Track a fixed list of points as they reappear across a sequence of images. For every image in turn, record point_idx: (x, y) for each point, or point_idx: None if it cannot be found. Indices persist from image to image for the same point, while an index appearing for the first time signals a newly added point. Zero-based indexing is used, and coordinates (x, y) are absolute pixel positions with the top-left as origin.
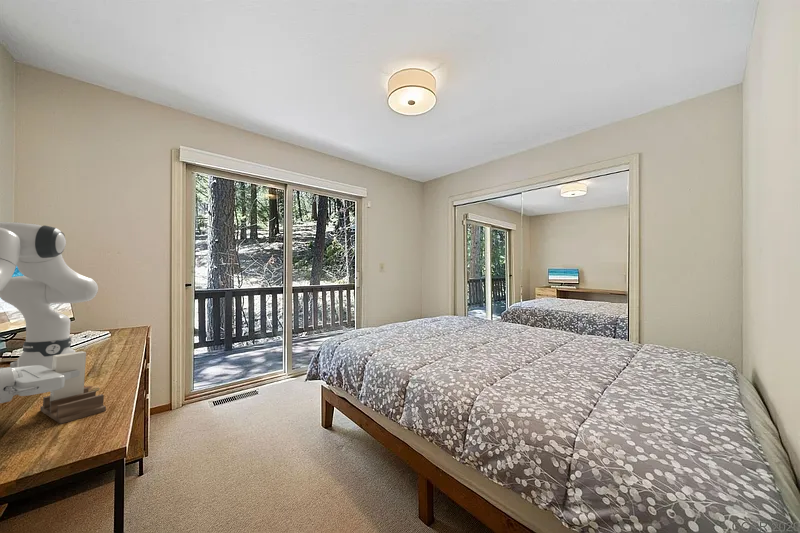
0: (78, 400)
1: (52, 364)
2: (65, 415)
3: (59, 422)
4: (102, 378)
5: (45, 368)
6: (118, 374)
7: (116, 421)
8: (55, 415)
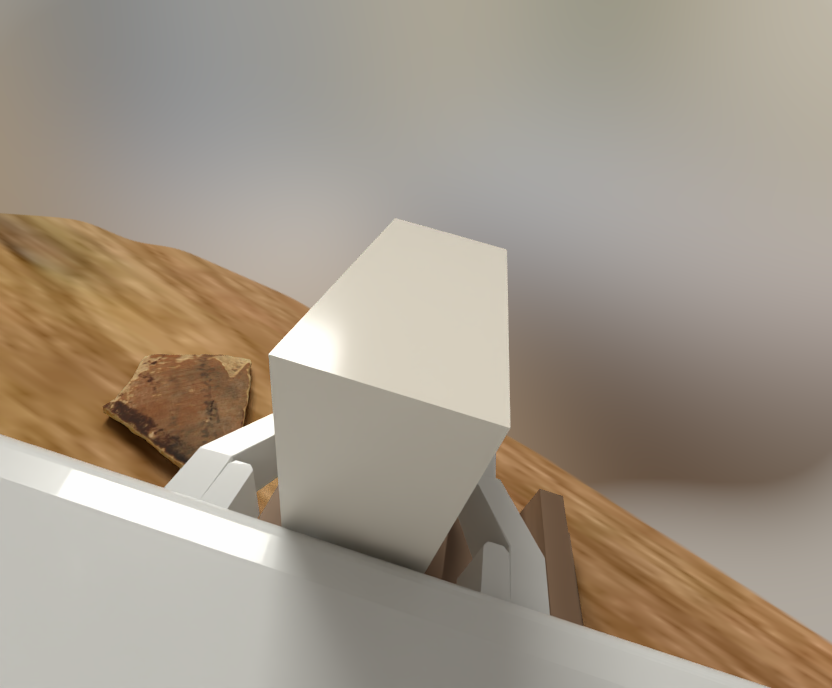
0: (559, 608)
1: (281, 473)
2: None
3: None
4: (136, 284)
5: (156, 524)
6: (171, 260)
7: (757, 628)
8: None
